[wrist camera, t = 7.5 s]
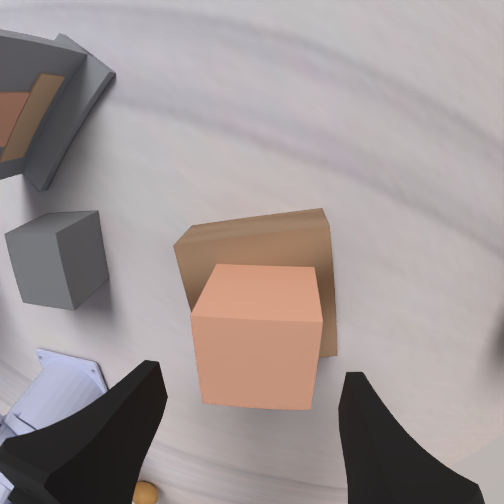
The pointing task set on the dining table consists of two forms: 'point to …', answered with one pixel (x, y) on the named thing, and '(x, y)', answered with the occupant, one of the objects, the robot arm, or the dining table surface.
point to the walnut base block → (264, 255)
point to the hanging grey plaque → (43, 101)
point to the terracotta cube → (258, 336)
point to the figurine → (145, 493)
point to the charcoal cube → (58, 258)
